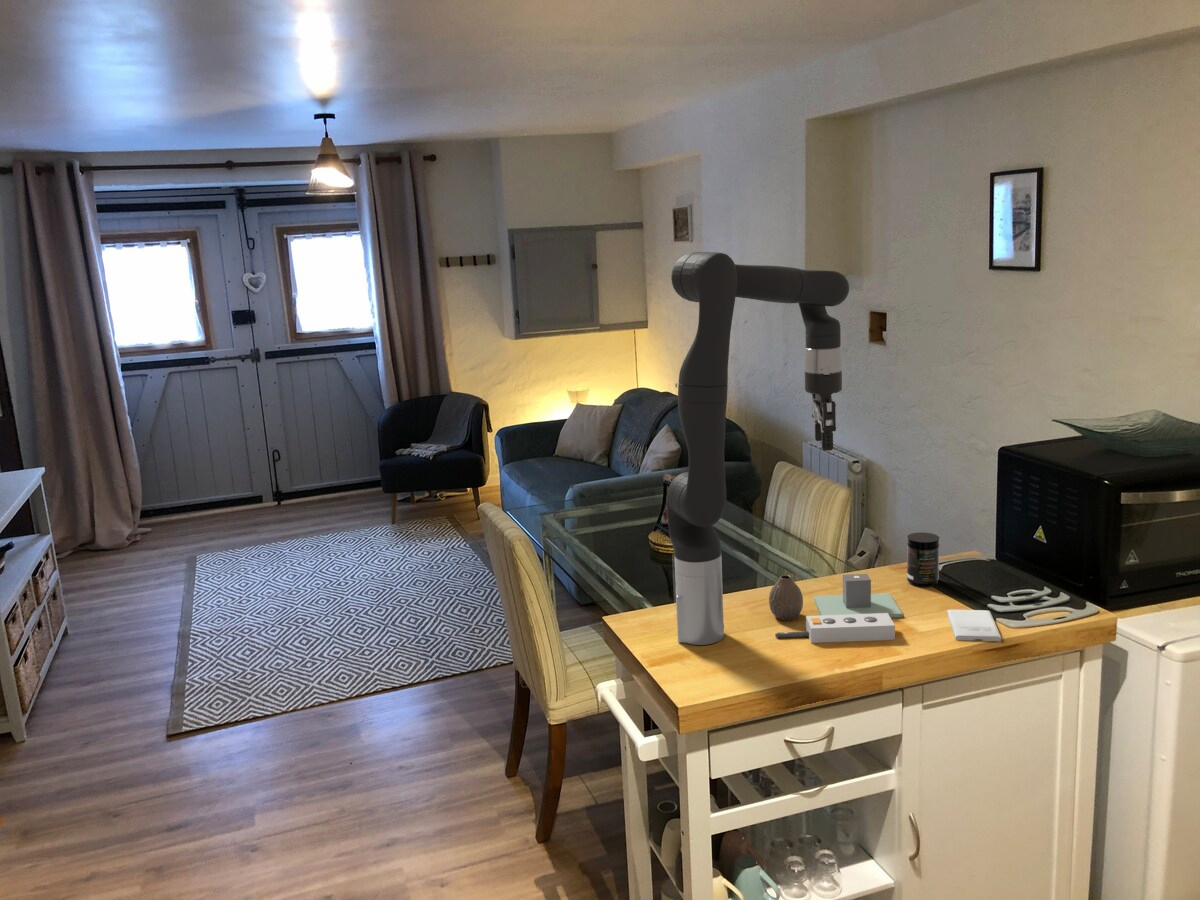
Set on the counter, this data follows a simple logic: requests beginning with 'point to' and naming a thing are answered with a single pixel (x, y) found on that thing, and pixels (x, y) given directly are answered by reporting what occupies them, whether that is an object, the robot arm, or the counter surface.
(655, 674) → the counter surface
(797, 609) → the vase
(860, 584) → the plug
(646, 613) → the counter surface
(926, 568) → the supplement container
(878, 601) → the mat
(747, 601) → the counter surface
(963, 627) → the external hard drive
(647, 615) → the counter surface
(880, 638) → the power strip
